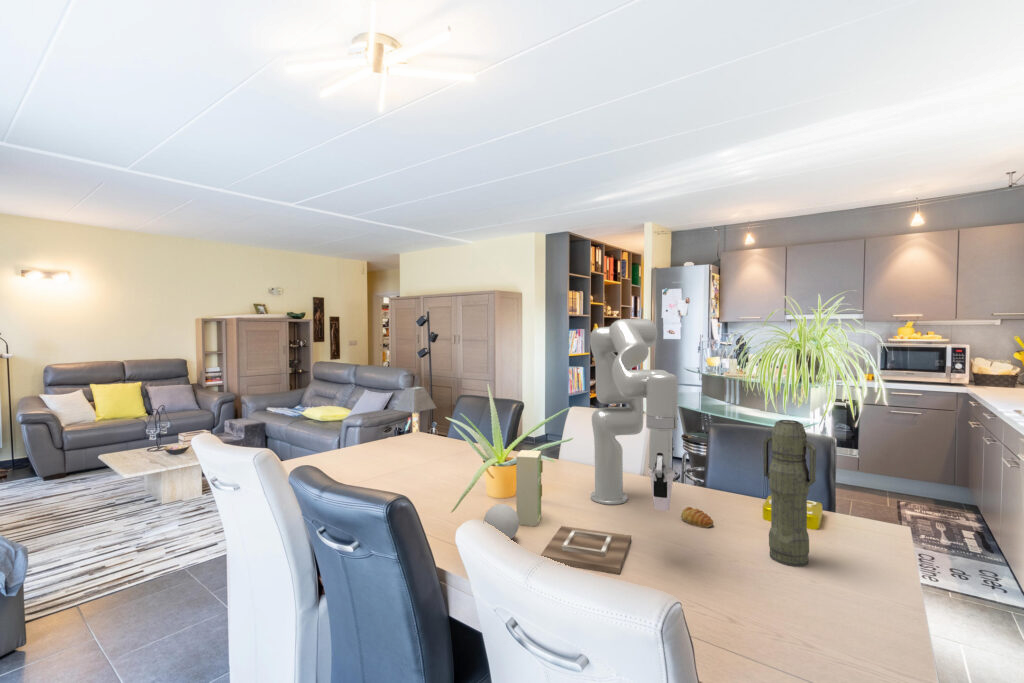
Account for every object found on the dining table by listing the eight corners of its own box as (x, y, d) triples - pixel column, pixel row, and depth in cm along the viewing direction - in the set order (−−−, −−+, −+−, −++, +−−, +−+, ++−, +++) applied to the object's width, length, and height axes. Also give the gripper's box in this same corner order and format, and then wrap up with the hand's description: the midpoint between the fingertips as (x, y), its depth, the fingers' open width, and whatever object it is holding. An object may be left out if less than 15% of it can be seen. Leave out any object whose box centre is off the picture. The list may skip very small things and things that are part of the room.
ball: (524, 536, 141) (524, 501, 141) (510, 551, 132) (510, 513, 132) (493, 531, 145) (493, 497, 145) (477, 544, 136) (476, 508, 136)
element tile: (769, 506, 164) (769, 492, 163) (822, 516, 155) (822, 501, 155) (761, 521, 151) (761, 505, 151) (818, 532, 143) (818, 515, 142)
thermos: (812, 572, 119) (812, 427, 118) (758, 557, 126) (759, 421, 125) (819, 559, 125) (819, 421, 124) (768, 546, 133) (768, 416, 132)
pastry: (718, 526, 147) (718, 513, 147) (704, 531, 144) (703, 518, 144) (692, 516, 155) (692, 504, 155) (678, 520, 152) (678, 508, 152)
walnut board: (561, 530, 144) (561, 521, 144) (631, 540, 137) (631, 531, 137) (540, 560, 126) (540, 550, 126) (619, 574, 119) (619, 563, 118)
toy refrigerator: (540, 527, 148) (539, 457, 147) (516, 525, 149) (515, 456, 149) (544, 517, 155) (543, 450, 155) (521, 515, 157) (520, 449, 156)
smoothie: (644, 503, 129) (644, 450, 128) (668, 502, 129) (668, 449, 129) (653, 513, 122) (654, 457, 122) (679, 512, 123) (679, 456, 122)
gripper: (649, 415, 134) (649, 480, 135) (642, 428, 118) (642, 502, 119) (679, 416, 131) (678, 483, 132) (675, 430, 115) (675, 506, 116)
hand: (661, 491), depth 125 cm, fingers closed on smoothie, 6 cm apart
